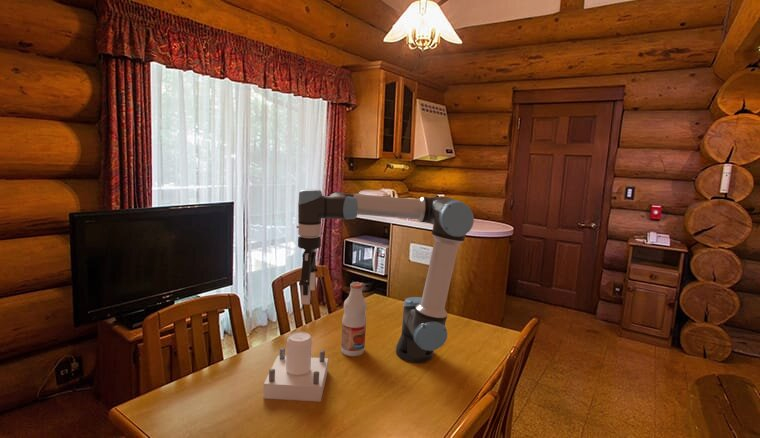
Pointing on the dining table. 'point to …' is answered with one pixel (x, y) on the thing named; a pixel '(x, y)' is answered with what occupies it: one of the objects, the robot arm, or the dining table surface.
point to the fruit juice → (354, 322)
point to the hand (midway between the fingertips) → (308, 296)
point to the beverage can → (298, 353)
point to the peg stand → (296, 380)
